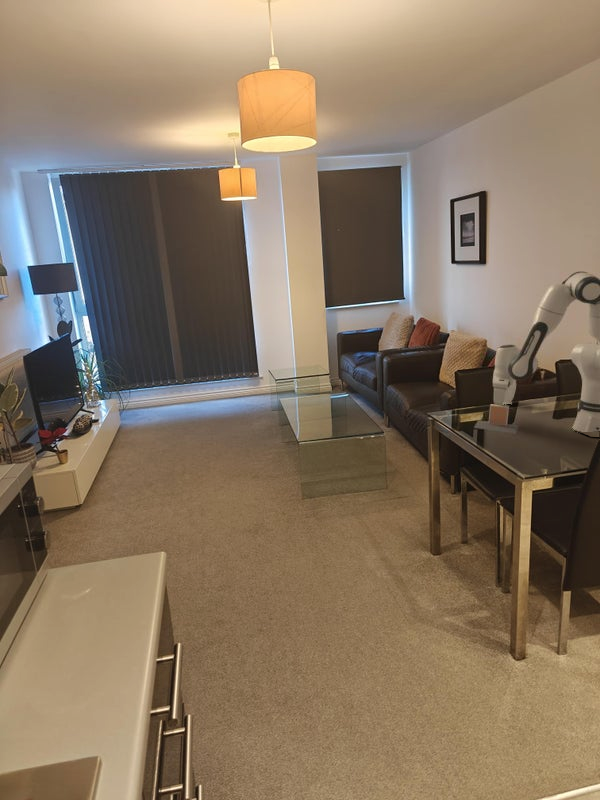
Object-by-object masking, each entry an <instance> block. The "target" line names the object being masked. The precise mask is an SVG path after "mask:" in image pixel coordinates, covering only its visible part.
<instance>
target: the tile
mask: <svg viewBox="0 0 600 800" xmlns="http://www.w3.org/2000/svg"><path fill="white" fill-rule="evenodd" d="M509 409H510V405H503V406H502V405H498V404H495V403H493V404H492V403H491V404H489V413H488V414H489V416H488V423H489V424H496V425H503V426H507V424H508V418H509Z"/></svg>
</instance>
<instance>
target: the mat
mask: <svg viewBox="0 0 600 800" xmlns="http://www.w3.org/2000/svg"><path fill="white" fill-rule="evenodd" d="M488 422H489V420H479V419H478V420H477V421H476V423H475V425H474V427H473V429H481V430H485V431H492V432H493V431H494V432H501V433H506V434H507V433H508V434H514V435H517V432H518V430H519V425H515V424H508V423H507V426H503V425H496V424H489V423H488Z"/></svg>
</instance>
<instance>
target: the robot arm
mask: <svg viewBox="0 0 600 800" xmlns="http://www.w3.org/2000/svg"><path fill="white" fill-rule="evenodd" d="M576 300H577V301H579V302H580V303H584V304H588V305H589V314H588V317H589V318H588V333H589V335H590V336H591V337H592V338H594V339H595V340H596V341H597V343H598V344H597V343H593V342H592V343H591V342H582V343H577V344H576V345H575V346H574V347H573V348H572V350H571V353H570V359H571V362H572V364H574V365H575V366H576V367H577V369H578V372H579V374H580V376H581V382H582V383H581V384H582V385H581V392H580V393H581V394H580V396H581V397H580V398H579V400H578V403H577V415H576V418H575V420H574V423H573V424H572V425H573V426H572V427H571V429H572V428H573V429H574V430H577V431H581V432H593V431H600V278H599V277H597V276H596V275H594V274H593V273H588V272H586V271H576V272H574V273H571V275H569V276H568V277H567V278H566V279H565V280H564V281H562V282H561V283H554V284H551V285H550V286H548V288H547V290H546V291H545V293H544V294H543V296H542V298H541V299H540V301H539V303H538V305H537V308H536V310H535V312H534V316H533V319H532V322H531V326H530V329H529V333H528V335H527V338H526V339H525V342H524V344H523V346H522V348H521V349H520V348H518V347H517V346H516V345H514V344H504V345H501V346H499V347H498V348H497V350H496V353H495V359H494V370H493V374H492V375H493V376H492V387H493V404H494V405H502V406H504V405H503V402H504V400H505V398H506V396H507V394H508V388H510V386H511V385H513V380H516V382H517V381H518V382H524V381H527V380H529V379H530V378H531V377H532V375H533V374H534V373H535V372H536V370H537V369H538V367H539V360H538V358H537V357H536V356H537V355H538V351H539V350H540V348H541V346H542V344H543V342H544V341H545V340H546V338H547V337H548V336H550V334H552V332H554V331H555V330H556V328H557V327H558V326H559V325H560V323H561V322H562V320H563V318H564V316H565V314H566V312H567V310H568V308H569V306H570V305H571V304H572V303H573V302H575V301H576ZM573 429H572V430H573ZM574 430H573V431H574Z"/></svg>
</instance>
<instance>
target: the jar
mask: <svg viewBox="0 0 600 800" xmlns="http://www.w3.org/2000/svg"><path fill="white" fill-rule="evenodd" d="M516 389H517V380H513V385H511V386H510V388H508V394H507V396H506V398H505V400H504V402H503V406H507V405H506V404H511V405H513V400H514V397H515V393H516V391H517V390H516ZM504 404H505V405H504Z"/></svg>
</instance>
